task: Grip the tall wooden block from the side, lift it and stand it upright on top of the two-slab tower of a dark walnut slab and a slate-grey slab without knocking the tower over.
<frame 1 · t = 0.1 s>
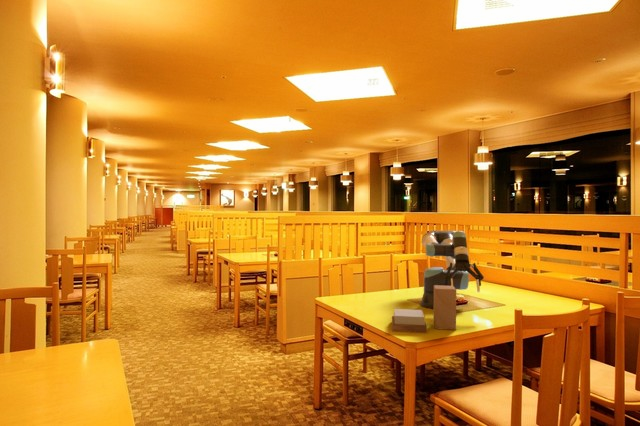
hand: (465, 291, 217), 15 cm above the table, tool tilted 35°, fingers open, 13 cm apart
grey slab: (408, 320, 202), point 3 cm above the table, touching walnut slab
walnut slab: (408, 328, 202), on the table, touching grey slab
wooden block: (444, 327, 204), on the table
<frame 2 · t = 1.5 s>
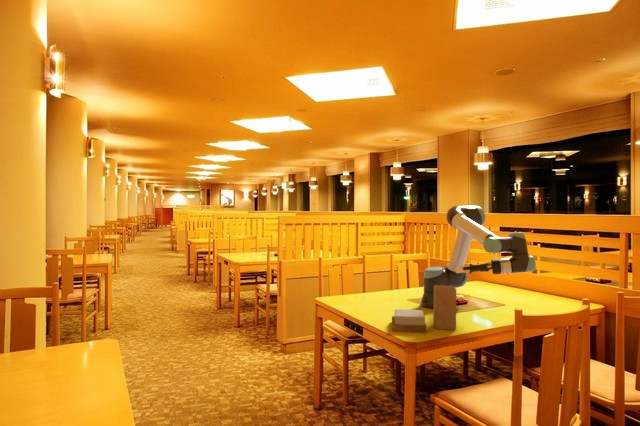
hand: (455, 270, 208), 28 cm above the table, tool horizontal, fingers open, 13 cm apart
nothing on the table moved.
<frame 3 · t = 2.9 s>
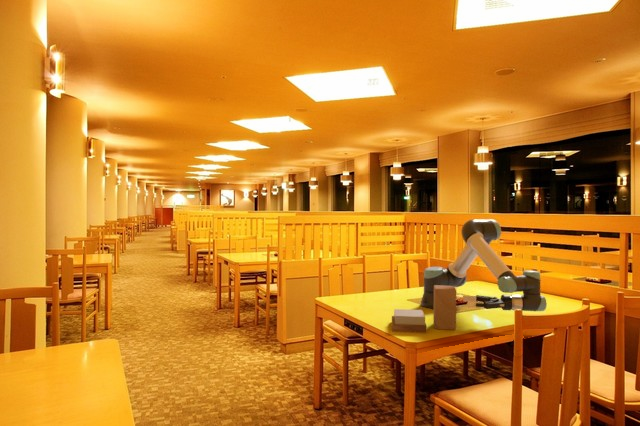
hand: (465, 301, 202), 13 cm above the table, tool horizontal, fingers open, 13 cm apart
nothing on the table moved.
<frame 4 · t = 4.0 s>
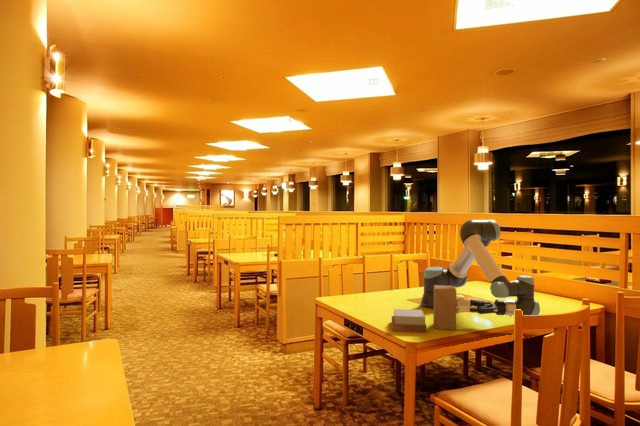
hand: (459, 305, 202), 11 cm above the table, tool horizontal, fingers open, 13 cm apart
nothing on the table moved.
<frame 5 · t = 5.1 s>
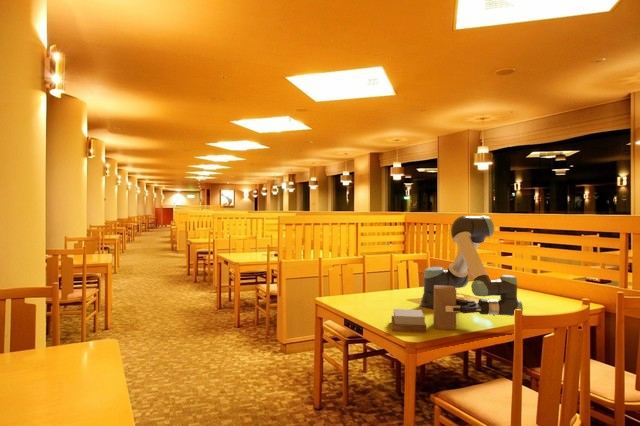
hand: (443, 305, 203), 11 cm above the table, tool horizontal, fingers open, 13 cm apart
nothing on the table moved.
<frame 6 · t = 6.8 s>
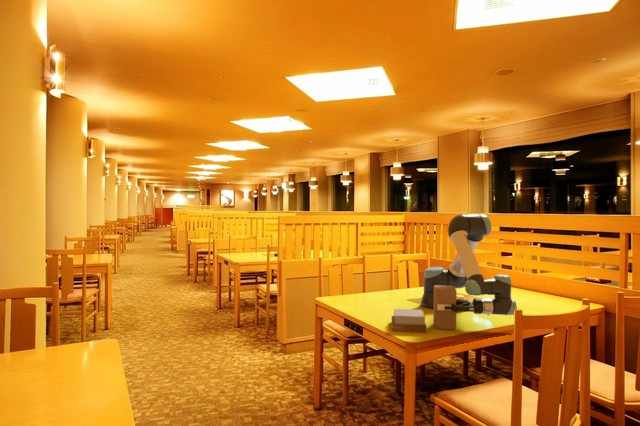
hand: (435, 304, 204), 11 cm above the table, tool horizontal, fingers closed on wooden block, 10 cm apart
wooden block: (444, 327, 204), on the table, touching gripper
everything else where it was.
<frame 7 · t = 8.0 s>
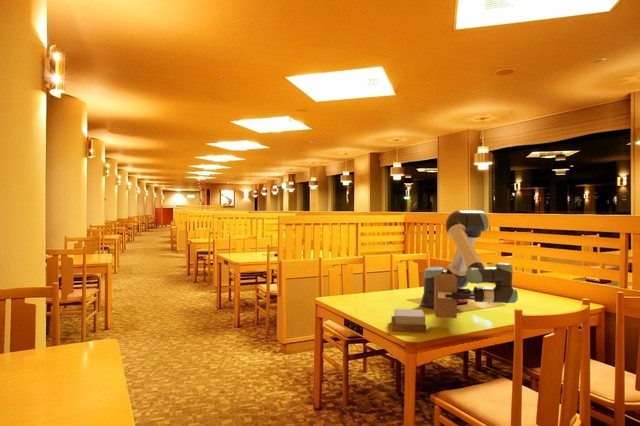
hand: (436, 292, 203), 17 cm above the table, tool horizontal, fingers closed on wooden block, 10 cm apart
wooden block: (445, 315, 203), point 6 cm above the table, touching gripper
everything else where it was.
when the fingers open (20 cm above the table, at t = 13.6 s): wooden block drops 2 cm, point 7 cm above the table.
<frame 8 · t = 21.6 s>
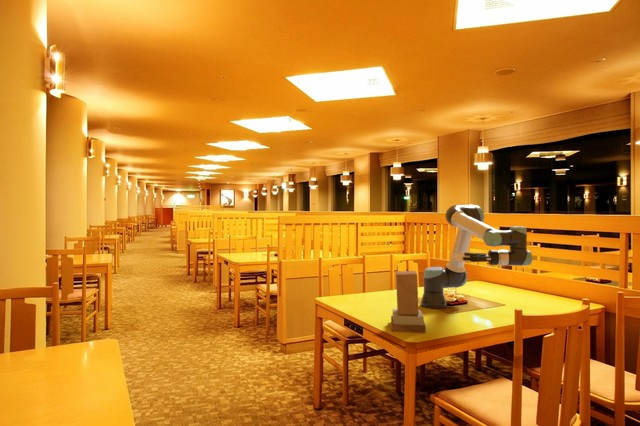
hand: (453, 256, 206), 35 cm above the table, tool horizontal, fingers open, 13 cm apart
grey slab: (407, 320, 202), point 3 cm above the table, touching walnut slab
wooden block: (407, 312, 202), point 7 cm above the table
everything else where it was.
at the end: wooden block inside the target area on the grey slab (0.6 cm from its centre), point 4.1 cm above the grey slab's base; wooden block tilted 3°; grey slab 0.2 cm off-centre on the walnut slab, point 4.0 cm above the walnut slab's base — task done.
